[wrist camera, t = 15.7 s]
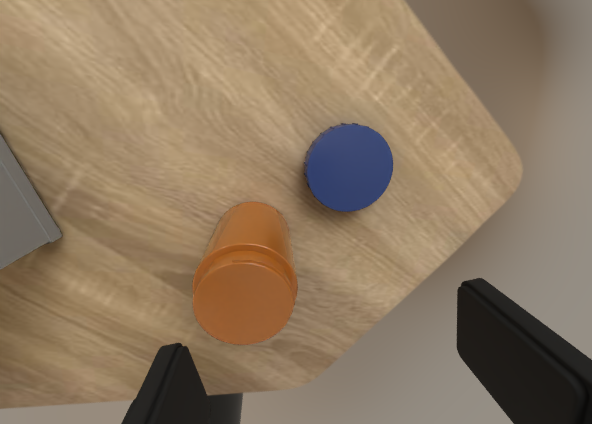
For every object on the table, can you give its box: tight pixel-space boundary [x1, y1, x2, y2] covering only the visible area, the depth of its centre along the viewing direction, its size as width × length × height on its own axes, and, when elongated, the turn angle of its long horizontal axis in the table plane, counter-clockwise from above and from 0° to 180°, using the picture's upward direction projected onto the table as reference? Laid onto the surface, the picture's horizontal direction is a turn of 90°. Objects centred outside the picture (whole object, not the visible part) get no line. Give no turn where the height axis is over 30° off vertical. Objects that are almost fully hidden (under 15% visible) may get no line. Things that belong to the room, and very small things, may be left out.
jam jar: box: [192, 202, 298, 345], centre depth 20 cm, size 6×6×10 cm
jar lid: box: [304, 123, 393, 212], centre depth 22 cm, size 7×7×2 cm
